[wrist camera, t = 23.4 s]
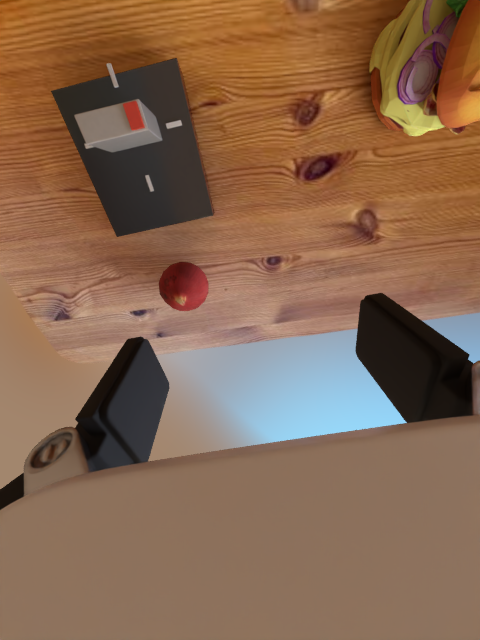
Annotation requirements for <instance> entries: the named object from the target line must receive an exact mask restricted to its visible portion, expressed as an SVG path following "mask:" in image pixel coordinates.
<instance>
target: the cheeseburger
mask: <svg viewBox="0 0 480 640" xmlns="http://www.w3.org/2000/svg"><path fill="white" fill-rule="evenodd" d="M371 71H372V74H371V93H372V102H373V105H374V107H375V110H376V113H377V115H378V118H379V119H380V120H381V121H382V122H383V123H384V124H385V126H386V127H387V128H388V129H390V130H396V131H404V132H405V133H407V134H408V135H409V136H419V135H422V134H424V133H426V132H427V131H430V130H436V129H439V128H442V127H445V126H446V127H448V128H450V130H451V132H453V133H455V134H459V133H460V132H462V131H464V129H465V125H467V124H469V123H472V122H475V121H478V120H480V0H410V1H409V2H408V4H407V6H406V7H405V8H404V9H403V10H402V11H401V12H400V13H399V14H398V15H397V16H396V18H395V19H394V20H392V21H391V22H390V23H389V24H388V25H387V26H386V27H385V28H384V29H383V30H382V31H381V33H380V35H379V37H378V39H377V41H376V42H375V44H374V47H373V51H372V55H371V59H370V64H369V72H371Z"/></svg>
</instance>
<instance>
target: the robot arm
mask: <svg viewBox="0 0 480 640" xmlns="http://www.w3.org/2000/svg"><path fill="white" fill-rule="evenodd" d="M356 354H357V357H358V358H359V360H360V361H361V362H362V364H363V365H364V366H365V367H366V369H367V370H368V372H369V373H370V374H371V376H372V377H373V378H374V380H375V381H376V382H377V383H378V385H379V386H380V388H381V389H382V390H383V392H384V393H385V394H386V396H387V397H388V398H389V400H390V401H391V402H392V403H393V405H394V406H395V408H396V409H397V410H398V412H399V413H400V414H401V416H402V417H403V418H404V420H405V421H406V422H407V423H404V424H397V425H391V426H383V427H376V428H369V429H362V430H355V431H348V432H341V433H335V434H327V435H320V436H314V437H307V438H301V439H294V440H286V441H280V442H273V443H266V444H260V445H253V446H246V447H240V448H233V449H227V450H220V451H213V452H207V453H200V454H194V455H187V456H181V457H175V458H168V459H162V460H155V461H149V462H148V459H149V456H150V453H151V449H152V446H153V442H154V439H155V435H156V432H157V429H158V425H159V422H160V418H161V415H162V411H163V408H164V404H165V401H166V398H167V394H168V391H169V382H168V380H167V378H166V376H165V373H164V371H163V369H162V367H161V365H160V363H159V361H158V359H157V357H156V355H155V353H154V351H153V349H152V347H151V345H150V343H149V341H148V340H147V339H144V338H143V337H137V338H131V339H128V340H127V341H126V342H125V344H124V345H123V347H122V348H121V350H120V351H119V353H118V354H117V356H116V357H115V359H114V360H113V362H112V364H111V365H110V367H109V368H108V370H107V371H106V373H105V374H104V376H103V377H102V379H101V380H100V382H99V383H98V385H97V387H96V388H95V390H94V391H93V393H92V394H91V396H90V397H89V399H88V400H87V402H86V403H85V405H84V407H83V408H82V410H81V411H80V413H79V414H78V416H77V417H76V421H77V422H78V424H77V426H76V428H73V427H65V428H61V429H58V430H56V431H55V432H53V433H51V434H49V435H48V436H47V437H45V438H44V439H42V440H41V441H40V442H39V443H38V444H37V445H36V446H35V447H34V448H33V450H32V451H31V452H30V453H29V455H28V457H27V459H26V460H25V464H24V473H23V474H21V475H20V476H18V477H17V478H16V479H14V480H13V481H11V482H10V483H9V484H7V485H6V486H5V487H3V488H2V489H0V640H480V361H477V362H476V363H474V364H473V363H472V362H471V361H469V360H468V357H469V354H468V353H466V352H465V351H464V350H462V349H461V348H459V347H458V346H457V345H455V344H454V343H452V342H451V341H449V340H448V339H447V338H445V337H444V336H442V335H441V334H439V333H438V332H437V331H435V330H434V329H432V328H431V327H430V326H428V325H427V324H425V323H424V322H423V321H421V320H420V319H418V318H417V317H416V316H414V315H413V314H411V313H410V312H408V311H407V310H406V309H404V308H403V307H401V306H400V305H399V304H397V303H396V302H394V301H393V300H391V299H390V298H389V297H387V296H386V295H384V294H383V293H378V294H372V295H367V296H365V298H364V300H361V303H360V312H359V322H358V332H357V341H356Z"/></svg>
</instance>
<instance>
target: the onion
mask: <svg viewBox="0 0 480 640" xmlns="http://www.w3.org/2000/svg"><path fill="white" fill-rule="evenodd" d="M159 289H160V295H161V296H162V298H163V299H164V301H165V302H166V303H167V304H168V305H170V306H171V307H172V308H174V309H176V310H179V311H189V310H193V309H196V308H198V307H199V306H200V305H201V304H202V303H203V302H204V301H205V299H206V297H207V294H208V281H207V278H206V276H205V273H204V272H203V271H202V270H201V269H200V268H199V267H198V266H196V265H194V264H192V263H188V262H179V263H175V264H172V265H170V266H169V267H168V268H167V269H166V270H165V271H163V274H162V276H161V278H160V281H159Z"/></svg>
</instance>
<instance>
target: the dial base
mask: <svg viewBox="0 0 480 640" xmlns="http://www.w3.org/2000/svg"><path fill="white" fill-rule="evenodd" d="M106 65H107V68H108V71H109V74H110V76H106V77H102V78H98V79H95V80H91V81H87V82H83V83H79V84H76V85H72V86H68V87H64V88H60V89H57V90H53V91H51V92H52V94H53V97H54V99H55V101H56V103H57V105H58V108H59V110H60V112H61V114H62V116H63V119H64V121H65V123H66V125H67V128H68V130H69V132H70V134H71V136H72V139H73V141H74V143H75V145H76V147H77V150H78V152H79V154H80V156H81V158H82V161H83V163H84V165H85V167H86V170H87V172H88V174H89V176H90V178H91V181H92V183H93V185H94V187H95V189H96V192H97V194H98V196H99V198H100V200H101V203H102V205H103V207H104V209H105V211H106V214H107V216H108V218H109V220H110V223H111V225H112V227H113V229H114V231H115V234H116V236H117V237H119V236H124V235H128V234H132V233H137V232H141V231H146V230H150V229H155V228H159V227H164V226H168V225H173V224H177V223H182V222H186V221H191V220H195V219H200V218H204V217H209V216H213V215H214V213H215V212H214V208H213V204H212V199H211V195H210V190H209V186H208V182H207V177H206V173H205V169H204V164H203V160H202V156H201V151H200V147H199V143H198V138H197V134H196V130H195V125H194V121H193V117H192V112H191V108H190V104H189V99H188V95H187V91H186V86H185V82H184V78H183V74H182V71H181V68H180V66H179V63H178V61H177V58H175V59H171V60H167V61H163V62H159V63H156V64H152V65H148V66H144V67H140V68H137V69H133V70H129V71H125V72H121V73H117V74H114V71H113V68H112V65H111V63H108V64H106ZM136 99H139V100H140V101H141V102H142V103H143V104H144V105H145V106H146V107H147V108H148V109H149V110H150V111H151V112H152V113H153V114H154V115H155V116H156V119H157V123H158V126H159V130H160V133H161V137H162V141H158V142H154V143H150V144H146V145H142V146H137V147H133V148H129V149H125V150H121V151H116V152H109V151H106V150H103V149H100V148H96V147H93V146H90V145H87V144H86V142H85V140H84V137H83V135H82V133H81V130H80V128H79V126H78V123H77V121H76V119H75V116H74V115H75V114H79V113H83V112H87V111H91V110H95V109H99V108H103V107H107V106H111V105H116V104H120V103H124V102H128V101H132V100H136Z"/></svg>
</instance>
